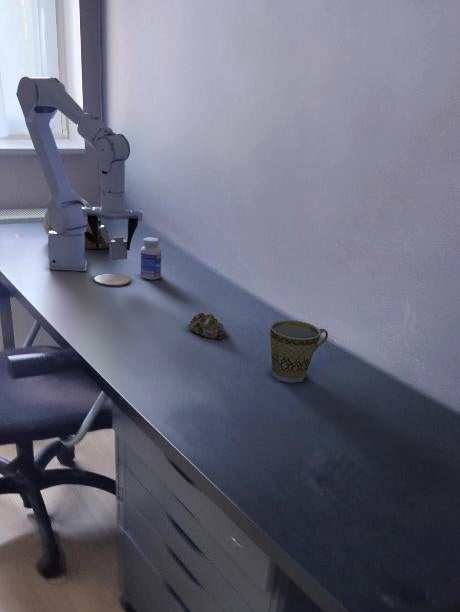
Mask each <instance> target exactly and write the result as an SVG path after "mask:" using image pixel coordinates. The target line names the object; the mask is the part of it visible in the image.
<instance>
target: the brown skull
mask: <svg viewBox="0 0 460 612" xmlns="http://www.w3.org/2000/svg"><path fill="white" fill-rule="evenodd" d="M83 202H84V204H85V205H86V206H87V207H92V206H91V205H90V204H89V202H88V201H87V200H85V199H83ZM64 206H66V205H64ZM101 225H103V224H102V220H101V219H99V218H98V227H100V226H101ZM105 229H106V231H107V233H108V234H109V231H108V229H107V228H106V227H105ZM43 230H44V232H45V234H46V235H47V236H48V233H49V231H54V230H53V228H52V227H51V225H50V222H49V214H48V210H47V209H46V211H45V213H44V217H43ZM98 235H99V249H102V250H103V249H108V248H110V243H108V244H106V243H105V241H104V239H103V237H102V235H101V233H100V231H99V229H98ZM84 240H85V249H89V250H95V249H96V250H98V249H97V248H96V244H95V239H94V236H93V233H92V230H91V228H90V226H88V227H87V228H86V232H84ZM110 240H112V239H111V238H110Z"/></svg>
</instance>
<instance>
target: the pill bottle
mask: <svg viewBox="0 0 460 612" xmlns="http://www.w3.org/2000/svg"><path fill="white" fill-rule="evenodd" d="M142 243H143V246H142V247H141V248H140V277H141V278H143V279H146V280H159V279H160V278H161V275H162V249H161V248H160V247H159V245H160V239H159V238H157V237H151V236H150V237H149V236H147V237H144V238H143V241H142Z"/></svg>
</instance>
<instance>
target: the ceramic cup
mask: <svg viewBox="0 0 460 612" xmlns="http://www.w3.org/2000/svg"><path fill="white" fill-rule="evenodd" d="M323 333H325V335H324V338H323V339H322V340H321V341H320V339H321V334H323ZM269 335H270V337H269V338H270V339H269V340H270V355H271V356H270V357H271V374H272V377H274V379H275V380H277V381H278V382H279V381H280V382H284V383H289V384H295V383H302V382H303V381H304V379H305V378H306V375H307V372H308V369H309V367H310V363H311V360H312V357H313V355H314V353H315V352H316V351H317V350H318V348H320V347H321V346H322V345H323V344H324V343H326V341H327V340H328V337H329V332H328V331H327V329H325V328H319V327H317V326H315V325H314V324H311V323H309V322H305V321H301V320H296V319H295V320H294V319H293V320H292V319H283V320H278V321H274V322H272V323H271V324H270V327H269ZM319 341H320V342H319Z"/></svg>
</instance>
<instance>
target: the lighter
mask: <svg viewBox="0 0 460 612" xmlns="http://www.w3.org/2000/svg"><path fill="white" fill-rule="evenodd" d="M105 228H106V227H105V225H103V224H102V225H101V226H100V227H98V229H99V231H100V233H101V235H102V237H103V239H104V241H105V243H106V244H108V243H110V247H109V258H110V260H127V259H128V250H127V239H124V237H123V236H117V235H115V236H114V237H113V239H111V238H110V236H109V232H108V233H107V231H108V230H107V231H106V229H107V228H106V229H105ZM110 239H111V240H110Z"/></svg>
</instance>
